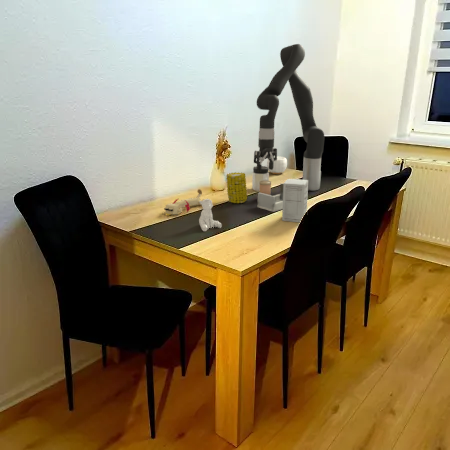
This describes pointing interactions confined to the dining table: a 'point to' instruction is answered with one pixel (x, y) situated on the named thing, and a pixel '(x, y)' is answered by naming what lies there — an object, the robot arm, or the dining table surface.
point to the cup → (278, 165)
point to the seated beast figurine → (207, 216)
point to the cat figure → (182, 204)
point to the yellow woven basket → (236, 187)
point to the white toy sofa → (269, 202)
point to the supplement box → (294, 199)
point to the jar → (259, 177)
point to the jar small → (265, 187)
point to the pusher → (281, 192)
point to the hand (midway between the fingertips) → (265, 170)
